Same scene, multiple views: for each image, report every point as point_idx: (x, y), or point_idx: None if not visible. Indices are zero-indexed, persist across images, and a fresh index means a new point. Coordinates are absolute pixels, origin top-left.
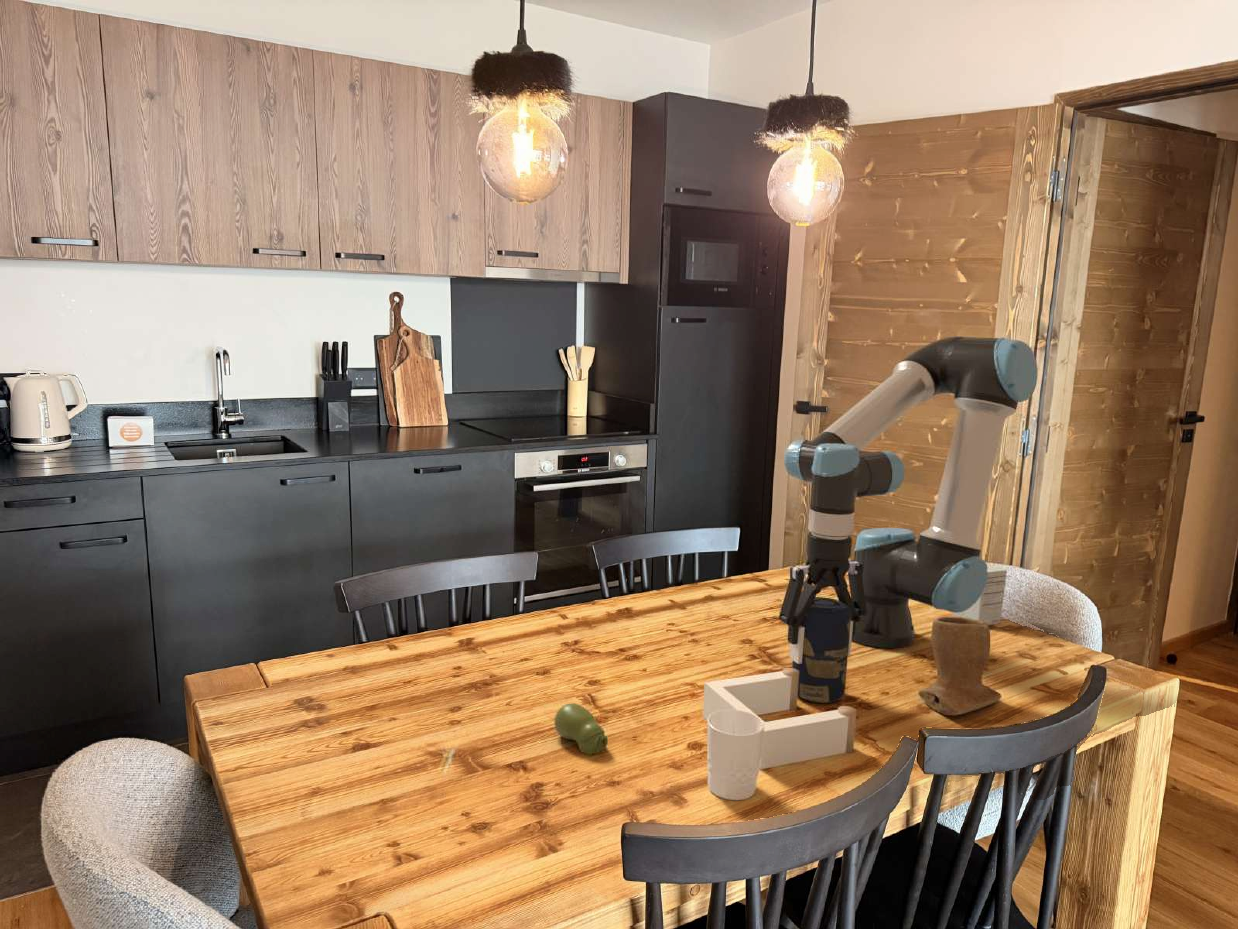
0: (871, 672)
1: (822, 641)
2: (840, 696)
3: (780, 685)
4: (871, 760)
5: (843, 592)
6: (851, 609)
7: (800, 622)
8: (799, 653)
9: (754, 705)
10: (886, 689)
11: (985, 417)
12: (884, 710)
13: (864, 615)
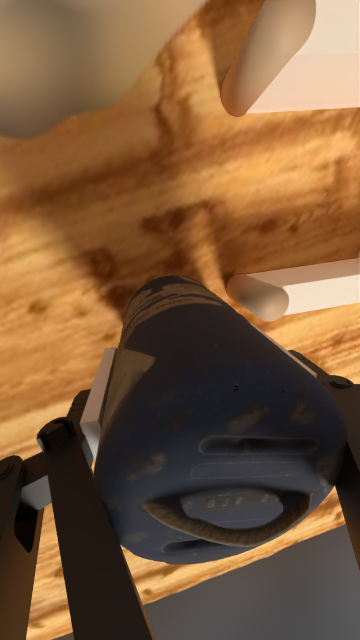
0: (30, 386)
1: (244, 321)
2: (149, 282)
3: (292, 280)
4: (212, 11)
5: (136, 632)
6: (76, 478)
7: (335, 389)
8: (264, 333)
9: (319, 267)
10: (27, 322)
11: None
12: (71, 238)
13: (6, 458)
